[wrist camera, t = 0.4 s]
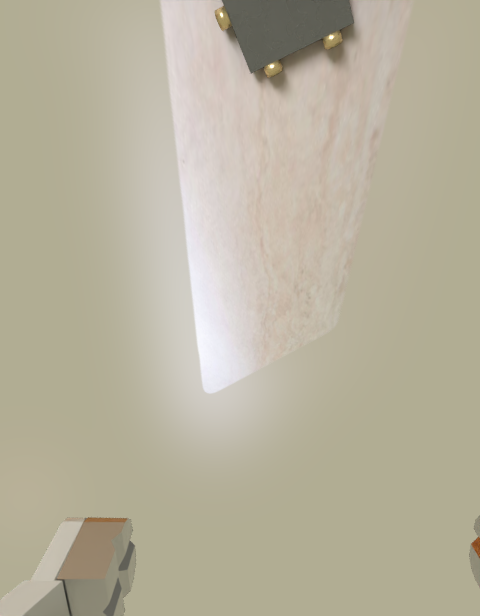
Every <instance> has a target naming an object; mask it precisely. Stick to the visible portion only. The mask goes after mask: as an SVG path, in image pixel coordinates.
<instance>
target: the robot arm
mask: <svg viewBox="0 0 480 616" xmlns="http://www.w3.org/2000/svg"><path fill="white" fill-rule="evenodd" d="M474 530H475V532H476V533H477V535H478V536H479V537H478V538H477V539H476V540H475V541H474V542H472V543H471V547H470V554H469V557H470V563H471V569H472V572H473V574H474V577H475V580H476V581H477V583H478V585H479V587H480V516H479V517H478V518H477V519H476V521H475V525H474ZM132 531H133V529H132V523H131V520H130V519H128V518H89V517H88V518H70V517H68V518H66V519H65V520H64V521H63V522H62V523H61V525H60V527H59V529H58V531H57V532H56V534H55V536H54V538H53V540H52V542H51V543H50V545H49V547H48V549H47V551H46V553H45V555H44V557H43V558H42V560H41V562H40V564H39V566H38V568H37V569H36V571H35V573H34V575H33V577H32V579H31V580H30V581H23V582H22V583H20V584H19V585H18V586H17V587H15V588H14V589H13V590H12V591H10V592H9V593H8V594H7V595H5V596H4V597H3V598H1V599H0V616H124V612H125V608H124V601H123V598H124V597H125V596H126V595H127V594H128V593H129V592H130V591H131V587H132V583H133V580H134V573H135V566H136V551H135V545H134V544H133V543H132V542H131V541H130V538H131V535H132Z"/></svg>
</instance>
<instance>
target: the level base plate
mask: <svg viewBox="0 0 480 616" xmlns="http://www.w3.org/2000/svg"><path fill="white" fill-rule="evenodd" d="M222 1H223V4H224V6H222V7H221V8H219V9H217V10H215V16H216V19H217V22H218V24H219V26H220V28H221V30H222V31H224V30H226V29H228V28H229V27H231V26H232V27H233V29H234V32H235V34H236V37H237V39H238V42H239V44H240V47H241V49H242V52H243V55H244V57H245V60H246V62H247V65H248V67H249V70H250V72H251V73H253V72H255V71H257V70H259V69H261V68H264V71H265V73H266V76H267V77H268V78H269V77H272V76H275V75H277V74H278V73H280V72H281V71H282V70H283V68H282V65H281V62H280V59H281V58H283V57H285V56H287V55H289V54H291V53H293V52H295V51H297V50H300V49H302V48H304V47H306V46H308V45H310V44H312V43H314V42H316V41H318V40H320V39H322V40H323V44H324V47H325V49H326V50H327V49H331V48H333V47H335V46H337V45H339V44H340V43H341V42H342V41H343V40H342V36H341V32H340V29H342V28H344V27H346V26H349V25H351V24H353V23H354V20H353V16H352V12H351V7H350V3H349V0H222Z"/></svg>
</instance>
